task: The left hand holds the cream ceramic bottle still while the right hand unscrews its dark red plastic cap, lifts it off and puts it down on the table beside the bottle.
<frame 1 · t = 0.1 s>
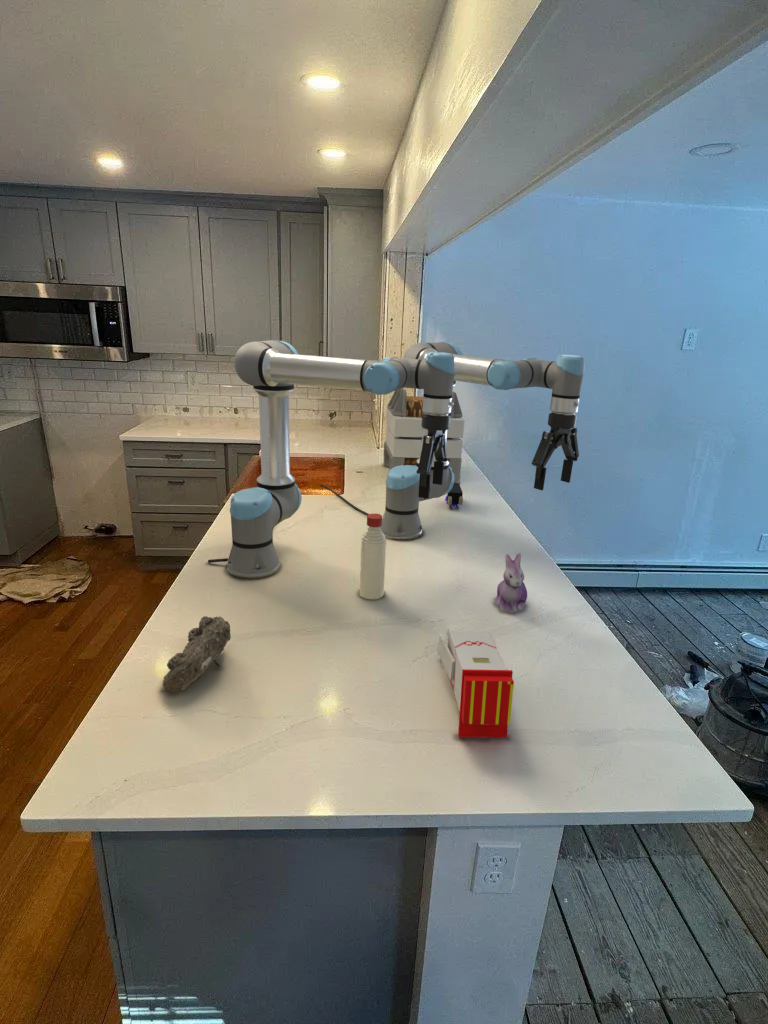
left hand: (430, 490, 156), 28 cm above the counter, tool pointing down, fingers open, 13 cm apart
right hand: (552, 485, 166), 28 cm above the counter, tool pointing down, fingers open, 13 cm apart
figurine character: (452, 505, 232), on the counter
fossil: (202, 665, 123), on the counter
figurine: (510, 605, 154), on the counter
cap: (374, 517, 150), point 23 cm above the counter, screwed on, not yet turned
toy: (469, 691, 119), on the counter
bottle: (371, 593, 157), on the counter
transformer: (419, 473, 275), on the counter
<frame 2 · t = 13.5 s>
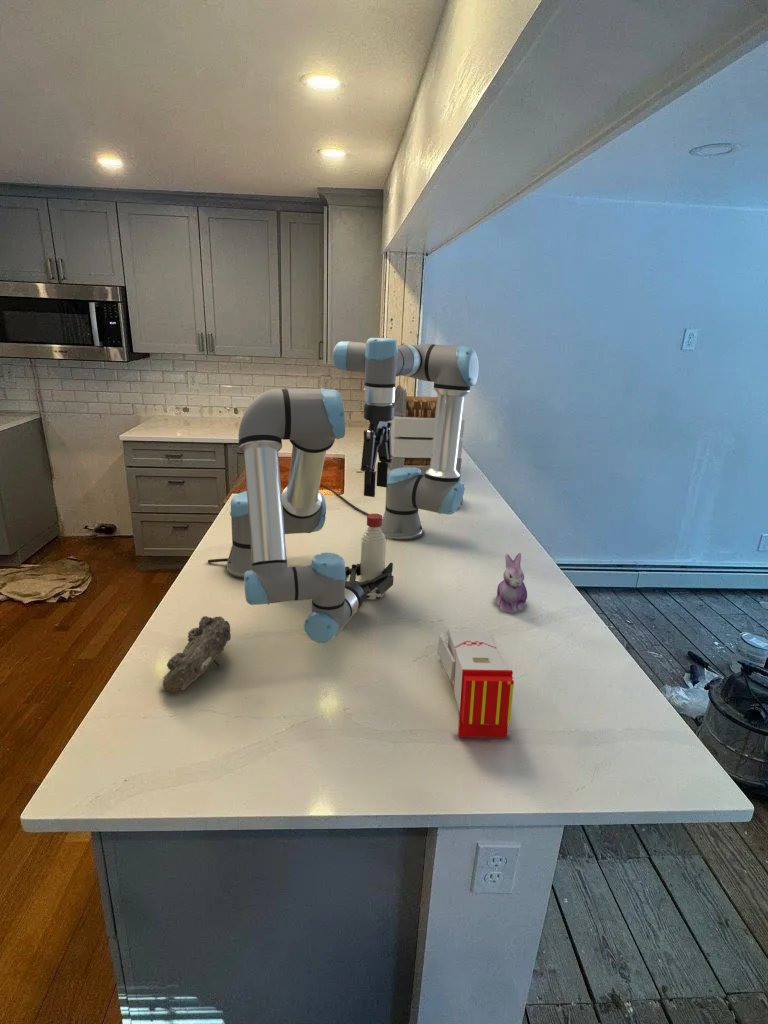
left hand: (379, 564, 160), 7 cm above the counter, tool horizontal, fingers closed on bottle, 7 cm apart
right hand: (375, 491, 147), 30 cm above the counter, tool pointing down, fingers open, 8 cm apart
bottle: (371, 593, 157), on the counter, touching left hand
everything else where it was.
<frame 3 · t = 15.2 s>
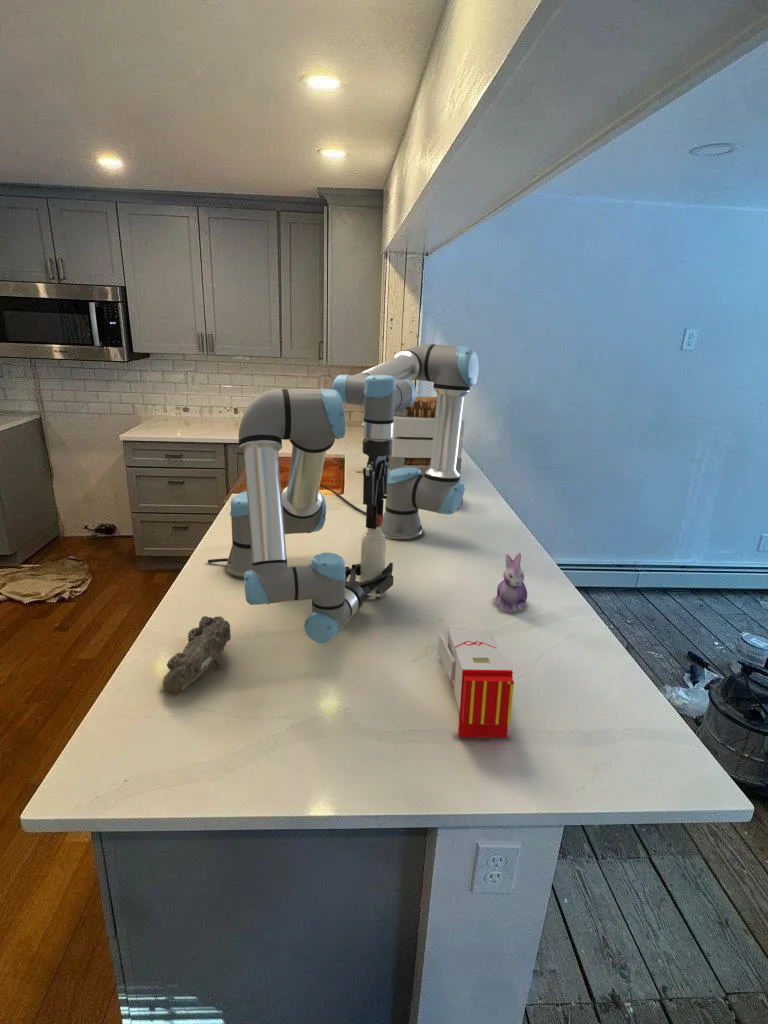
left hand: (379, 564, 160), 7 cm above the counter, tool horizontal, fingers closed on bottle, 7 cm apart
right hand: (374, 524, 150), 21 cm above the counter, tool pointing down, fingers closed on cap, 4 cm apart
cap: (374, 517, 150), point 23 cm above the counter, screwed on, not yet turned, touching right hand
bottle: (371, 593, 157), on the counter, touching left hand
everything else where it was.
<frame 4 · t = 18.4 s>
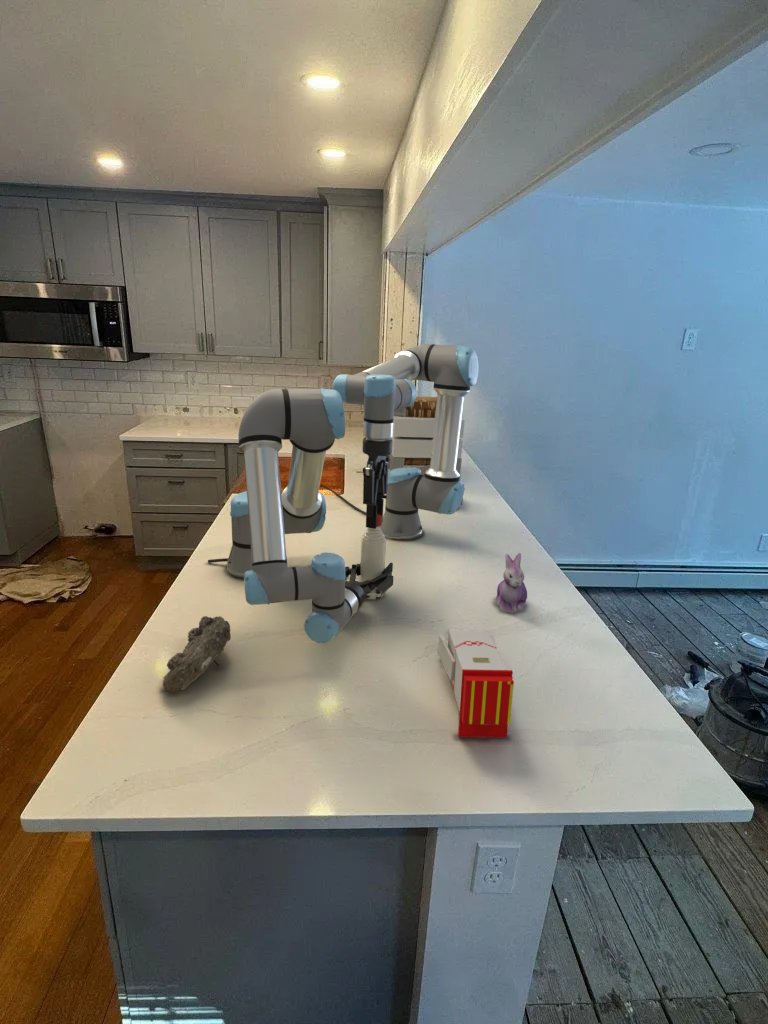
left hand: (379, 564, 160), 7 cm above the counter, tool horizontal, fingers closed on bottle, 7 cm apart
right hand: (374, 524, 150), 21 cm above the counter, tool pointing down, fingers closed on cap, 4 cm apart
cap: (374, 516, 150), point 23 cm above the counter, turned 88° so far, risen 0.1 cm, still on its thread, touching right hand
bottle: (371, 593, 157), on the counter, touching left hand
everything else where it was.
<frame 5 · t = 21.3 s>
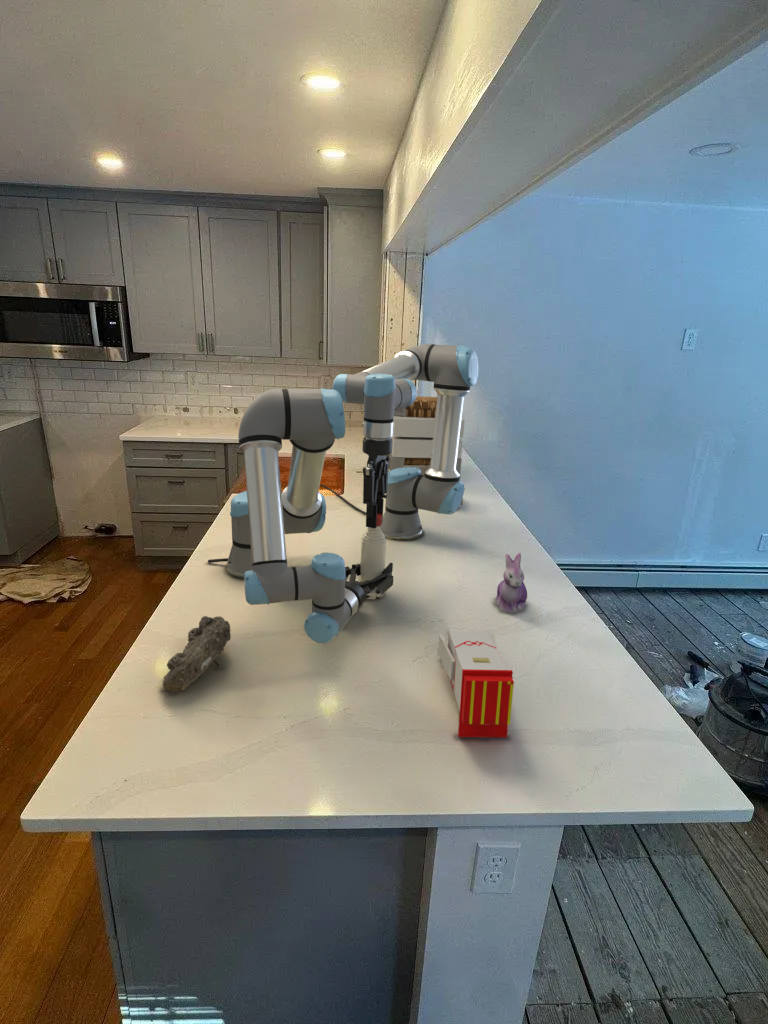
left hand: (379, 564, 160), 7 cm above the counter, tool horizontal, fingers closed on bottle, 7 cm apart
right hand: (374, 524, 150), 21 cm above the counter, tool pointing down, fingers closed on cap, 4 cm apart
cap: (374, 516, 150), point 23 cm above the counter, turned 175° so far, risen 0.2 cm, still on its thread, touching right hand
bottle: (371, 593, 157), on the counter, touching left hand
everything else where it was.
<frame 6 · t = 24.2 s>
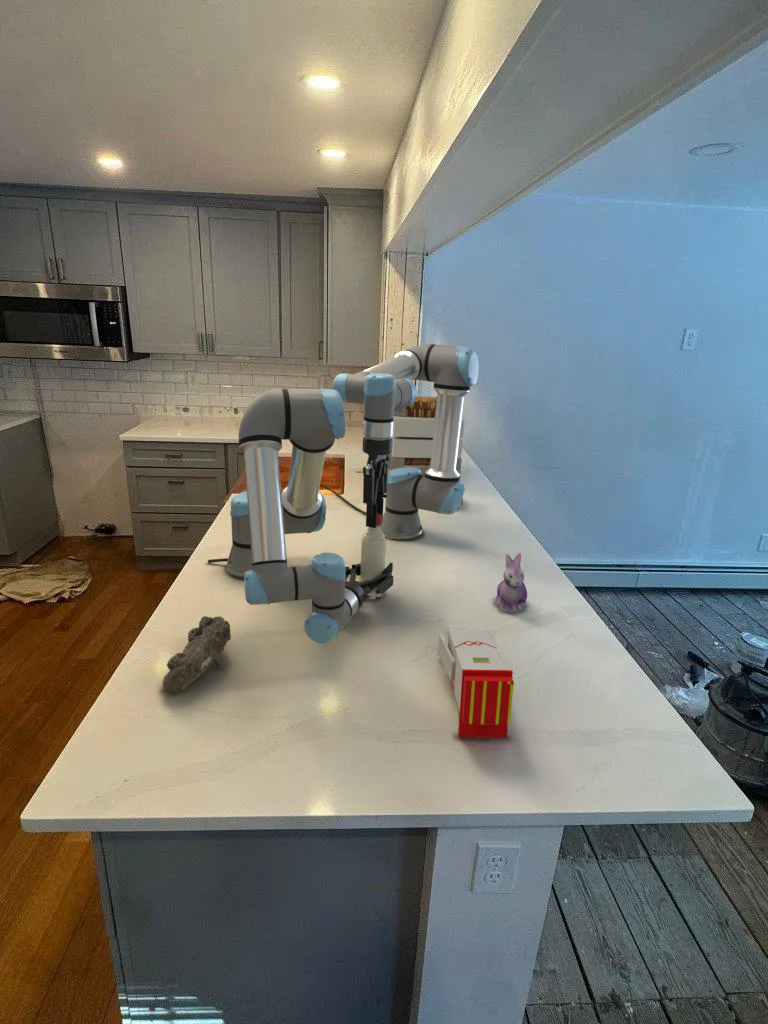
left hand: (379, 564, 160), 7 cm above the counter, tool horizontal, fingers closed on bottle, 7 cm apart
right hand: (374, 523, 150), 21 cm above the counter, tool pointing down, fingers closed on cap, 4 cm apart
cap: (374, 516, 150), point 23 cm above the counter, turned 263° so far, risen 0.3 cm, still on its thread, touching right hand
bottle: (371, 593, 157), on the counter, touching left hand
everything else where it was.
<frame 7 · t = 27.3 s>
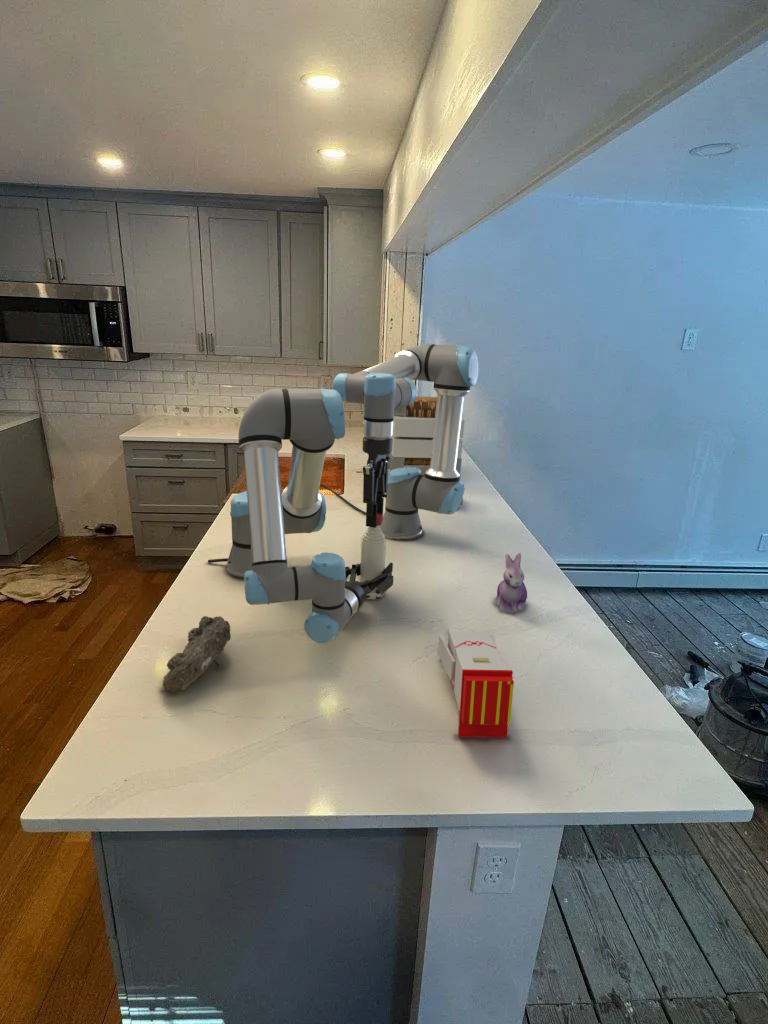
left hand: (379, 564, 160), 7 cm above the counter, tool horizontal, fingers closed on bottle, 7 cm apart
right hand: (374, 523, 150), 21 cm above the counter, tool pointing down, fingers closed on cap, 4 cm apart
cap: (374, 515, 150), point 23 cm above the counter, turned 350° so far, risen 0.4 cm, still on its thread, touching right hand
bottle: (371, 593, 157), on the counter, touching left hand
everything else where it was.
when the right hand's fingers open (1 cm above the counter, at t = 34.0 s): cap drops 1 cm, point 2 cm above the counter.
when the left hand's fingers open (7 cm above the counter, at t = 35.2 s): bottle stays where it is, on the counter.
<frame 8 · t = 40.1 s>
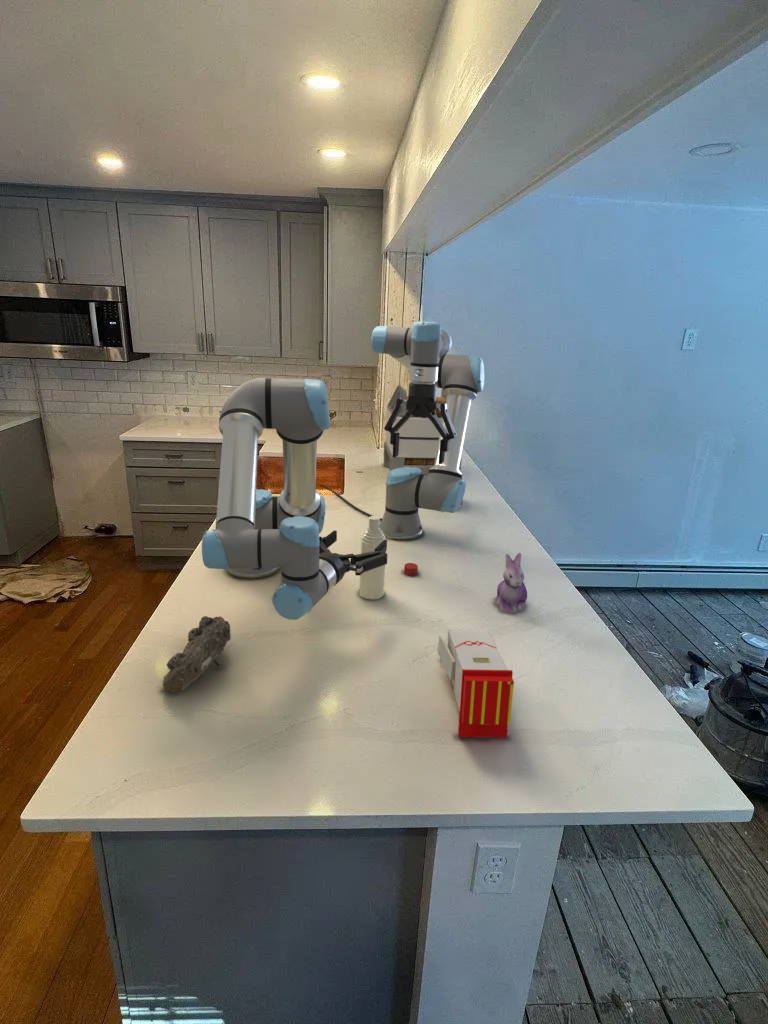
left hand: (360, 540, 142), 20 cm above the counter, tool horizontal, fingers open, 13 cm apart
right hand: (418, 459, 159), 35 cm above the counter, tool pointing down, fingers open, 13 cm apart
cap: (411, 566, 170), point 2 cm above the counter, off its thread
bottle: (371, 593, 157), on the counter
everything else where it was.
at the end: cap came off its thread; cap point 2.1 cm above the counter; the left hand is holding nothing; the right hand is holding nothing; bottle tilted 0°; bottle moved 0.0 cm from its start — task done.
